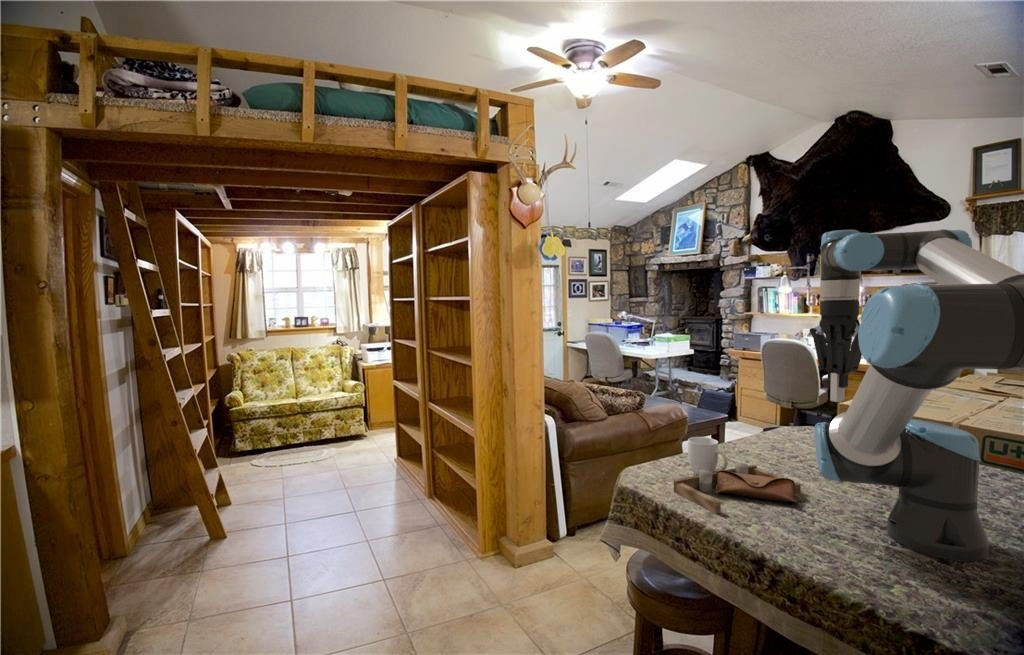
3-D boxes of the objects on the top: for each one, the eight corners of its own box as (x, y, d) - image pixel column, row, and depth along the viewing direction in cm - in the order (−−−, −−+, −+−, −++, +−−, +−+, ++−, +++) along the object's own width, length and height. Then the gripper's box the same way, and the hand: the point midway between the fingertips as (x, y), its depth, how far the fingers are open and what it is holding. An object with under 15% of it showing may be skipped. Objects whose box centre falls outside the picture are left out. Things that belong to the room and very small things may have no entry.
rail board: (800, 494, 120) (800, 474, 120) (715, 513, 111) (715, 492, 110) (753, 475, 133) (753, 457, 133) (673, 491, 124) (673, 472, 123)
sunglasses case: (715, 491, 119) (716, 464, 123) (715, 498, 125) (716, 472, 128) (800, 503, 112) (798, 474, 115) (796, 509, 118) (794, 482, 121)
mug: (733, 475, 134) (733, 442, 133) (720, 483, 128) (721, 448, 128) (695, 466, 141) (695, 435, 141) (682, 473, 136) (682, 440, 135)
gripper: (880, 298, 107) (877, 404, 109) (823, 299, 119) (821, 394, 121) (857, 299, 105) (855, 408, 106) (801, 299, 117) (800, 397, 118)
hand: (837, 400), depth 113 cm, fingers closed
